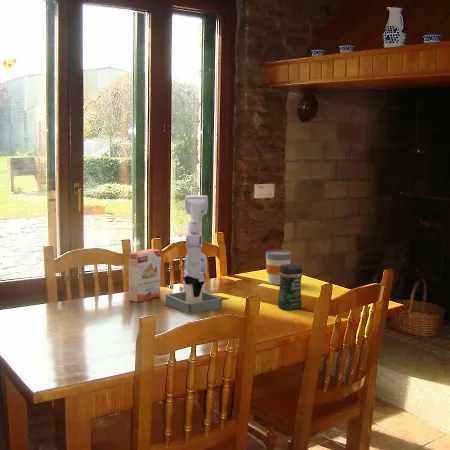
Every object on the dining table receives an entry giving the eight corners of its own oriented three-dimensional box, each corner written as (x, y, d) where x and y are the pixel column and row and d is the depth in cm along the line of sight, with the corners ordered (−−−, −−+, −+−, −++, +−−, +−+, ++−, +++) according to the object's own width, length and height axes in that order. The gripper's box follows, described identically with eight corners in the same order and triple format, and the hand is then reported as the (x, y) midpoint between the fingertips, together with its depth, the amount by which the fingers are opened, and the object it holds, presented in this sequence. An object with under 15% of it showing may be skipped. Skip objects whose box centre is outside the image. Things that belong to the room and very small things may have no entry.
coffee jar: (285, 311, 244) (287, 266, 241) (274, 306, 251) (275, 263, 248) (304, 308, 249) (306, 264, 246) (293, 303, 256) (294, 261, 253)
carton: (185, 303, 250) (185, 284, 249) (196, 301, 253) (196, 283, 252) (191, 306, 246) (191, 287, 245) (201, 304, 248) (202, 286, 247)
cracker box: (138, 303, 252) (138, 254, 249) (128, 300, 256) (127, 252, 252) (161, 296, 263) (161, 249, 260) (151, 294, 267) (151, 247, 264)
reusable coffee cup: (295, 281, 294) (296, 251, 292) (283, 287, 284) (284, 255, 281) (272, 278, 301) (273, 248, 299) (260, 283, 290) (261, 252, 288)
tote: (165, 303, 252) (165, 294, 251) (196, 298, 261) (197, 289, 261) (189, 314, 237) (189, 304, 237) (221, 308, 247) (222, 298, 246)
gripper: (210, 265, 242) (210, 298, 244) (194, 258, 255) (194, 289, 257) (195, 266, 239) (195, 300, 241) (179, 260, 251) (179, 291, 253)
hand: (193, 295), depth 249 cm, fingers closed on carton, 5 cm apart
